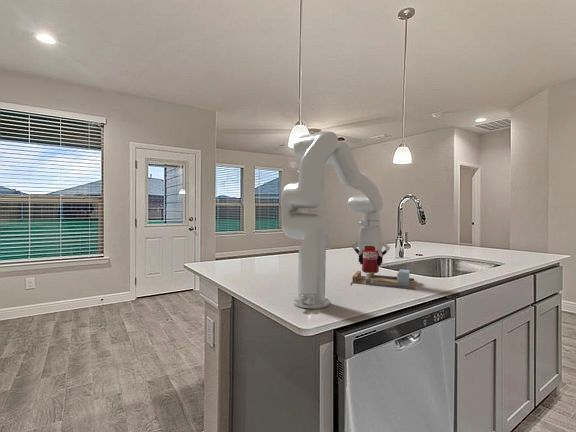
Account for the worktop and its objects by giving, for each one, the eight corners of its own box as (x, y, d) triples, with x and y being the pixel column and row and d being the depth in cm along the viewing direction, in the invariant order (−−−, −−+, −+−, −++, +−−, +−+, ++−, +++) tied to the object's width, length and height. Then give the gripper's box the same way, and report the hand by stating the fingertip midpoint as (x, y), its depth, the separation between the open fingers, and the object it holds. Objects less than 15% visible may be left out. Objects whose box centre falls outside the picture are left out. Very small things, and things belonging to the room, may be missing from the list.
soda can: (379, 274, 135) (380, 246, 135) (362, 273, 137) (362, 245, 136) (378, 270, 142) (378, 243, 142) (361, 269, 144) (362, 243, 143)
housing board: (416, 292, 125) (416, 279, 125) (350, 286, 135) (350, 273, 135) (416, 283, 140) (416, 271, 140) (357, 277, 150) (357, 266, 150)
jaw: (408, 287, 129) (408, 275, 128) (396, 286, 130) (397, 274, 130) (409, 281, 139) (409, 269, 139) (398, 280, 140) (398, 269, 140)
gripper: (349, 224, 138) (348, 264, 139) (391, 225, 132) (390, 267, 133) (352, 223, 145) (352, 261, 146) (392, 224, 139) (391, 264, 140)
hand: (370, 264), depth 139 cm, fingers closed on soda can, 7 cm apart
